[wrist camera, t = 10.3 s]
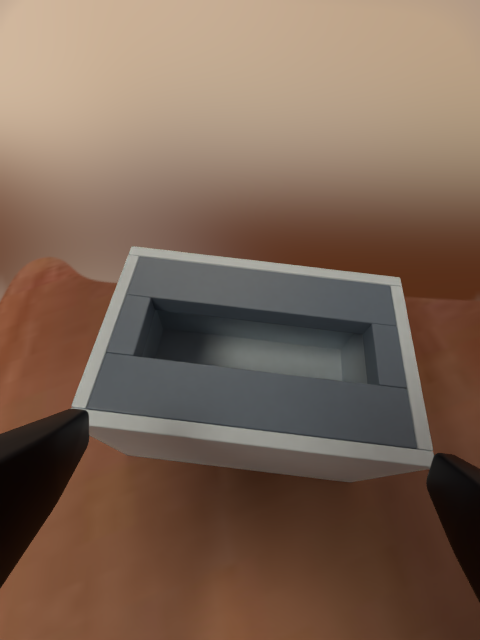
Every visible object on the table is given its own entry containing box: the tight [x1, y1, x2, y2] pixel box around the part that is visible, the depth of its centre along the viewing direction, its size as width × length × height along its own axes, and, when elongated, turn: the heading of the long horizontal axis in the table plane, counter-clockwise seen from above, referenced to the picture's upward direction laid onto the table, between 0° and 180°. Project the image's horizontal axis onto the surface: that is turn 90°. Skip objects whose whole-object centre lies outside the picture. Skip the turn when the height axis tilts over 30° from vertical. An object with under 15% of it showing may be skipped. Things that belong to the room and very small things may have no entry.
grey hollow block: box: [70, 246, 434, 482], centre depth 18 cm, size 9×14×9 cm
